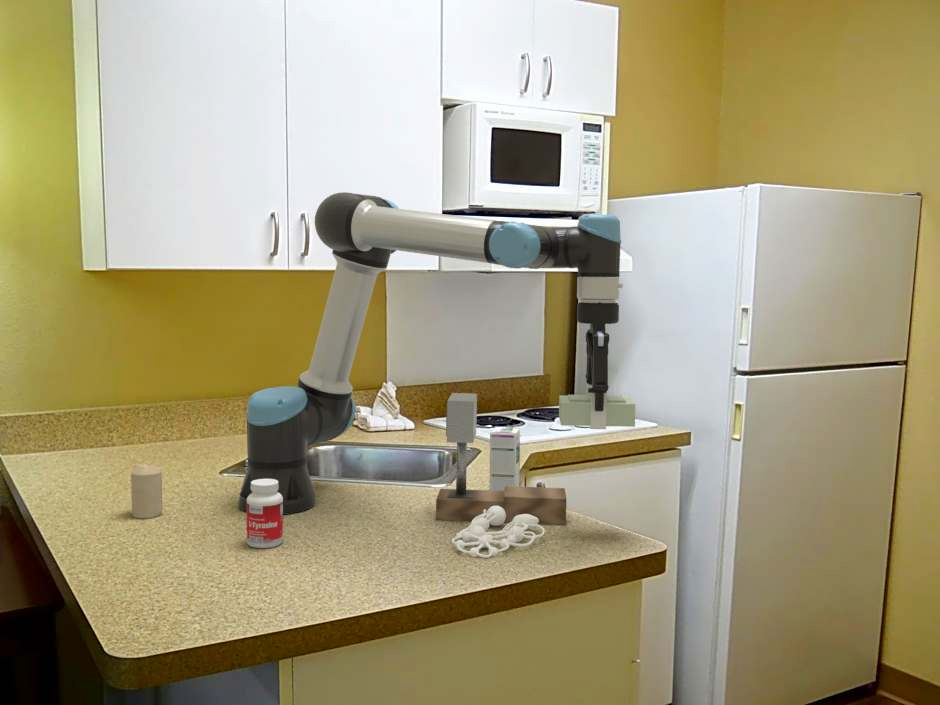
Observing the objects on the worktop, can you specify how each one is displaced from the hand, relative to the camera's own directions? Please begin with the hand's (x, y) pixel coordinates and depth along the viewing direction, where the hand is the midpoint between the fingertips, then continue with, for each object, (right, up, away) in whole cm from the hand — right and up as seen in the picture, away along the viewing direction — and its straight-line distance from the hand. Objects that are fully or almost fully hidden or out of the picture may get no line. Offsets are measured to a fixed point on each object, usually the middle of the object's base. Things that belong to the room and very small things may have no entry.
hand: (595, 423), depth 154 cm
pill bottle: (-59, -21, -7) cm, 63 cm away
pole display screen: (-25, -15, +12) cm, 31 cm away
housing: (-16, -19, +12) cm, 28 cm away
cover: (0, 0, 0) cm, 0 cm away
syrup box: (-16, -18, +27) cm, 36 cm away
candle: (-85, -18, +8) cm, 88 cm away
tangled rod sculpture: (-18, -21, -3) cm, 28 cm away
